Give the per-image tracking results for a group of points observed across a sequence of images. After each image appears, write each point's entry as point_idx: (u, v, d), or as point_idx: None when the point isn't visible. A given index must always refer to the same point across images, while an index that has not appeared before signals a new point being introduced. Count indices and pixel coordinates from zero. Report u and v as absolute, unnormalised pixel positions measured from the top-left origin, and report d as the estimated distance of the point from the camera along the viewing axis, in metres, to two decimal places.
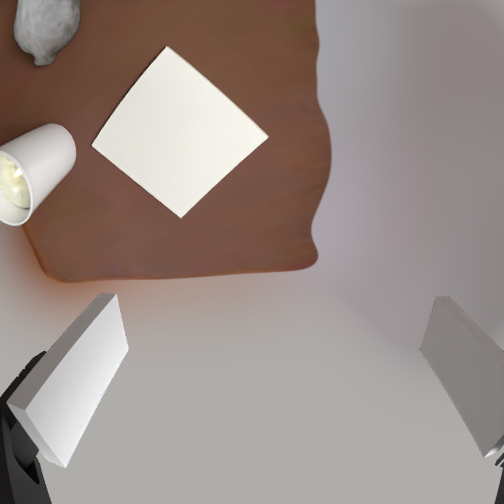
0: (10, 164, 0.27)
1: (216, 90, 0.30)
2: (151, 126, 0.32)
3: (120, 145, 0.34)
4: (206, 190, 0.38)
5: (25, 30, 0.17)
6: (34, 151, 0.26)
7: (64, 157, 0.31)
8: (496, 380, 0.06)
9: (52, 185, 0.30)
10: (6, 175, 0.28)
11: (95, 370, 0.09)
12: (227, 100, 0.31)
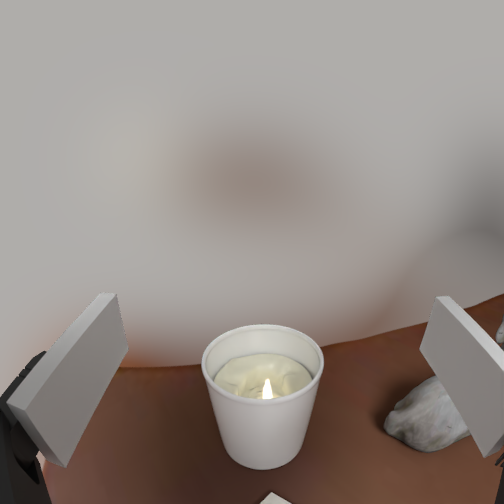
0: (277, 376, 0.27)
1: None
2: None
3: None
4: None
5: None
6: (302, 415, 0.21)
7: (266, 455, 0.22)
8: (496, 380, 0.06)
9: (236, 433, 0.21)
10: (263, 368, 0.27)
11: (95, 370, 0.09)
12: None
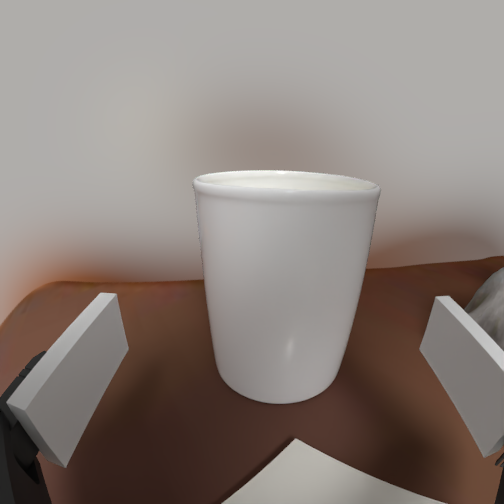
0: None
1: None
2: None
3: None
4: None
5: None
6: (355, 267, 0.13)
7: (289, 364, 0.14)
8: (496, 380, 0.06)
9: (240, 303, 0.14)
10: None
11: (95, 370, 0.09)
12: None
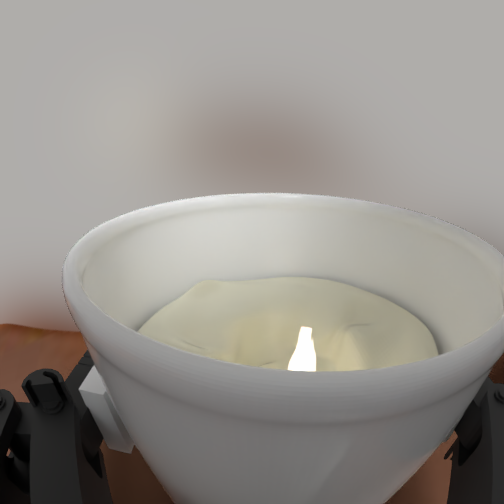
0: (326, 332, 0.10)
1: None
2: None
3: None
4: None
5: None
6: None
7: None
8: None
9: None
10: (285, 310, 0.11)
11: None
12: None
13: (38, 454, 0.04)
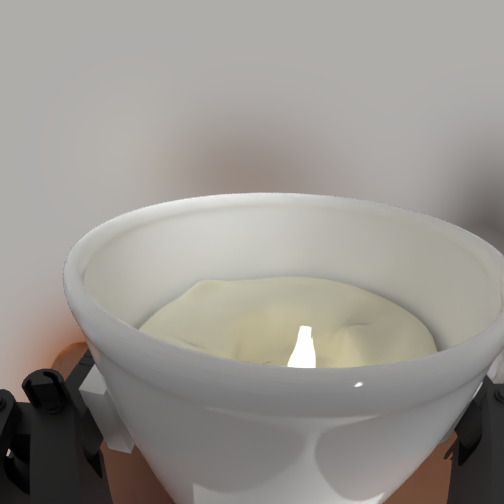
0: (325, 331, 0.10)
1: None
2: None
3: None
4: None
5: None
6: None
7: None
8: None
9: None
10: (285, 309, 0.11)
11: None
12: None
13: (38, 454, 0.04)
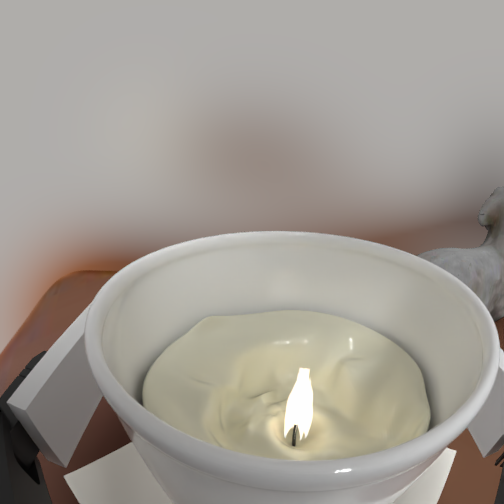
0: (323, 364, 0.10)
1: None
2: None
3: None
4: None
5: (437, 254, 0.23)
6: None
7: None
8: (496, 380, 0.06)
9: None
10: (285, 344, 0.11)
11: None
12: None
13: None
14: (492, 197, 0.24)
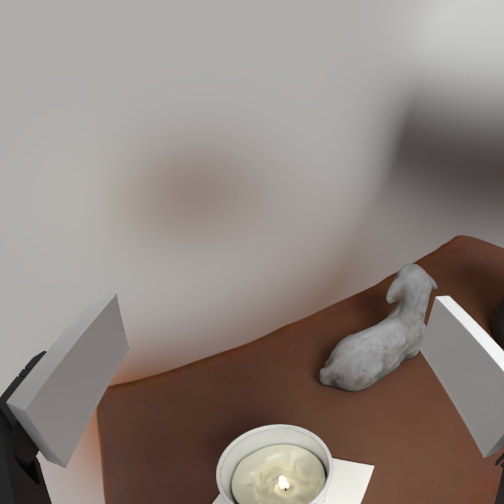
0: (288, 464, 0.24)
1: None
2: None
3: None
4: None
5: (353, 344, 0.38)
6: (321, 502, 0.19)
7: None
8: (496, 380, 0.06)
9: None
10: (272, 460, 0.24)
11: (95, 370, 0.09)
12: None
13: None
14: (397, 281, 0.40)
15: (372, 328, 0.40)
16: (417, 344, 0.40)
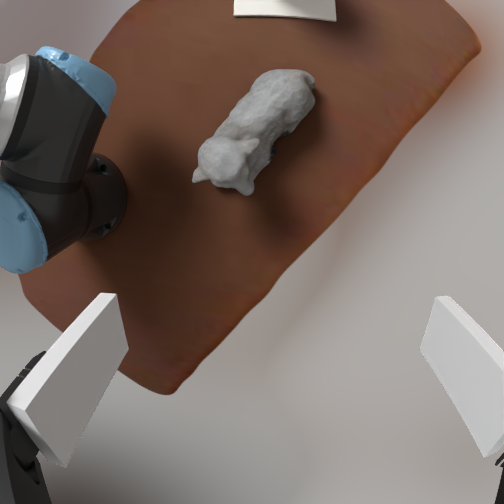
0: None
1: None
2: None
3: (318, 2, 0.34)
4: None
5: (285, 84, 0.34)
6: None
7: None
8: (496, 380, 0.06)
9: None
10: None
11: (95, 370, 0.09)
12: None
13: None
14: (246, 148, 0.31)
15: (270, 112, 0.35)
16: None
